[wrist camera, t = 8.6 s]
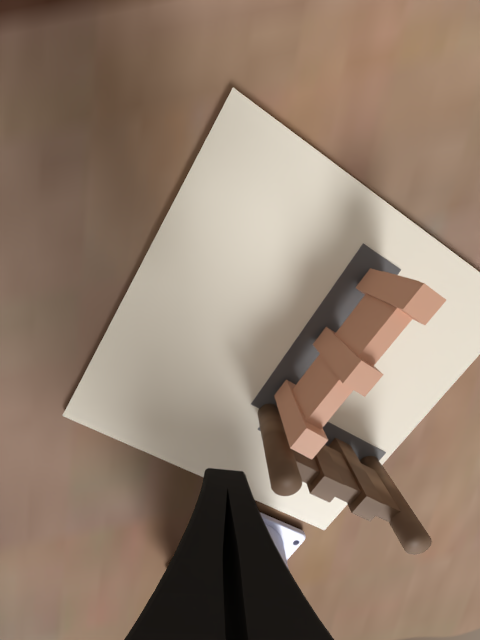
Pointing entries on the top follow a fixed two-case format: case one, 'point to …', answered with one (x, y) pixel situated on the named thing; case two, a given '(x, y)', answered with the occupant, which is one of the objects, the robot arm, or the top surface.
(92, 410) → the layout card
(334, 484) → the fixed fence section
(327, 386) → the folding fence panel
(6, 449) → the top surface
